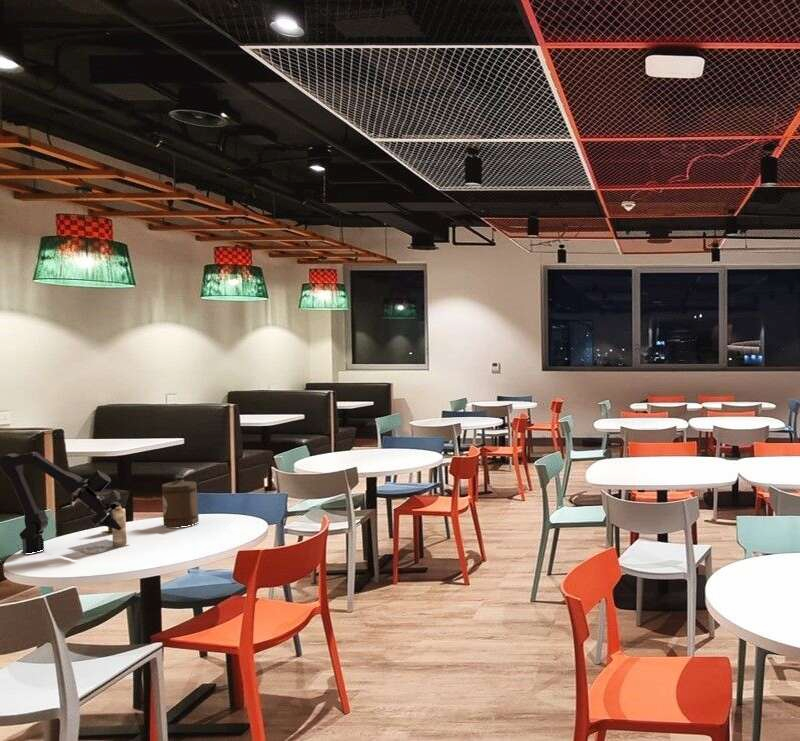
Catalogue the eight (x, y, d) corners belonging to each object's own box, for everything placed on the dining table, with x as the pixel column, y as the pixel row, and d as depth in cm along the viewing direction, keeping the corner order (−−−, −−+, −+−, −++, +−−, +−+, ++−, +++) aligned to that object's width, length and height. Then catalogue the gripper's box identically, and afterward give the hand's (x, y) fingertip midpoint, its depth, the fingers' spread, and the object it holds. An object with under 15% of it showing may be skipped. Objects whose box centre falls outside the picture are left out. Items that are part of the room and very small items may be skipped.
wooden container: (170, 521, 333) (168, 472, 332) (203, 520, 332) (201, 471, 332) (158, 529, 318) (156, 478, 318) (192, 528, 317) (190, 477, 317)
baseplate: (91, 556, 274) (91, 551, 274) (67, 550, 286) (67, 545, 286) (130, 547, 287) (130, 542, 287) (105, 541, 298) (105, 536, 298)
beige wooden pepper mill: (117, 548, 283) (115, 509, 283) (110, 546, 286) (108, 507, 286) (129, 545, 287) (127, 506, 287) (122, 543, 290) (120, 505, 290)
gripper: (98, 489, 277) (130, 517, 278) (114, 481, 295) (143, 507, 296) (78, 511, 276) (109, 539, 277) (95, 502, 295) (124, 528, 296)
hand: (122, 527), depth 287 cm, fingers closed on beige wooden pepper mill, 5 cm apart
